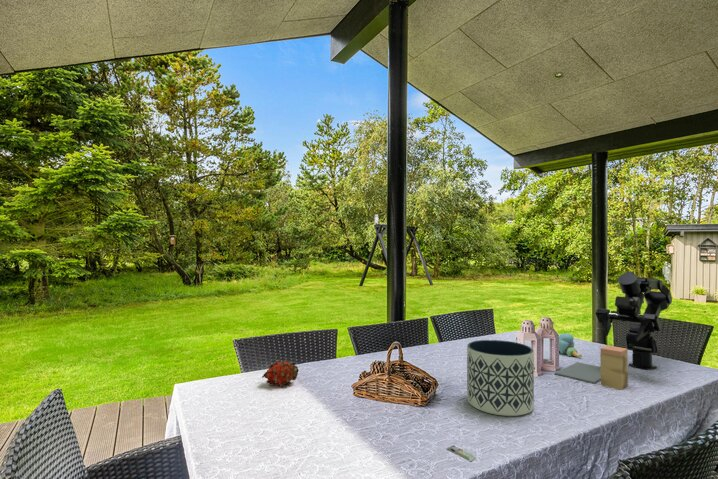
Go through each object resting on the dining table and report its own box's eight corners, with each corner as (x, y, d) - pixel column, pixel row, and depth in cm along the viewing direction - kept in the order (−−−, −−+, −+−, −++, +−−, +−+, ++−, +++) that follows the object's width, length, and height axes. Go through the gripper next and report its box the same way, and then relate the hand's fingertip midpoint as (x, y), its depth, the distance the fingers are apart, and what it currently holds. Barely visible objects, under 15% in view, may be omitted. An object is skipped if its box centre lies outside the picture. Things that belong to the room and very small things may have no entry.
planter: (501, 422, 103) (501, 359, 104) (454, 399, 120) (453, 343, 120) (548, 409, 112) (548, 350, 112) (498, 389, 128) (498, 337, 128)
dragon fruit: (301, 388, 133) (265, 397, 129) (295, 367, 140) (260, 376, 136) (302, 372, 128) (264, 382, 124) (295, 351, 135) (259, 360, 131)
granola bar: (477, 460, 86) (477, 455, 86) (470, 463, 85) (470, 458, 85) (451, 447, 91) (452, 443, 92) (445, 450, 90) (445, 446, 90)
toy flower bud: (575, 339, 160) (552, 331, 172) (574, 361, 161) (551, 351, 172) (589, 338, 162) (566, 330, 174) (588, 360, 163) (565, 350, 174)
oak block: (607, 380, 136) (606, 345, 136) (627, 385, 131) (627, 348, 131) (600, 384, 132) (600, 348, 132) (621, 389, 127) (621, 351, 128)
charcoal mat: (577, 363, 155) (577, 362, 155) (615, 371, 145) (615, 370, 145) (554, 374, 142) (554, 372, 142) (594, 384, 132) (594, 382, 133)
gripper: (597, 286, 149) (584, 318, 142) (658, 290, 135) (647, 326, 127) (605, 306, 154) (593, 338, 146) (665, 313, 139) (655, 348, 132)
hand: (620, 337), depth 138 cm, fingers open, 9 cm apart
